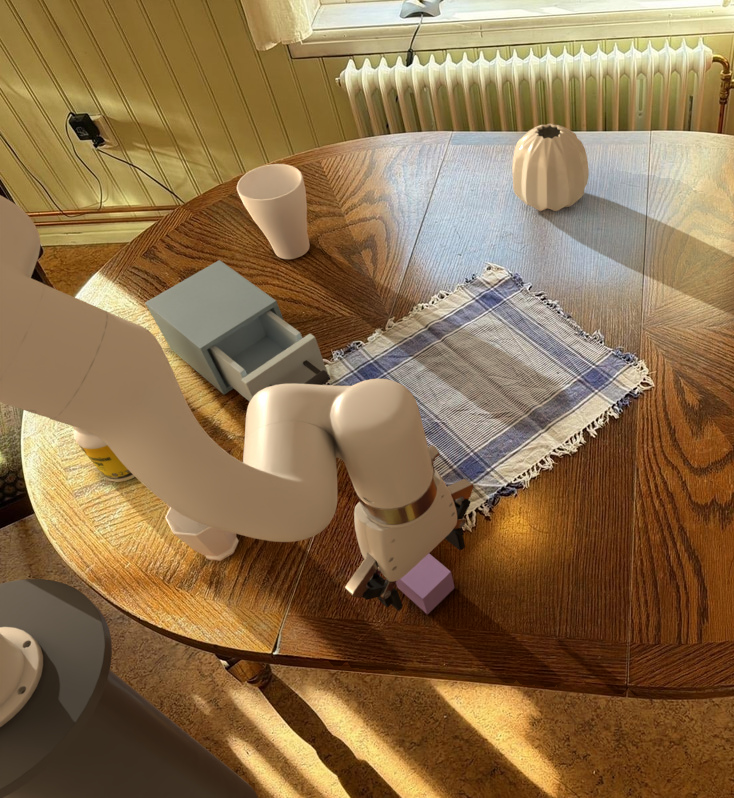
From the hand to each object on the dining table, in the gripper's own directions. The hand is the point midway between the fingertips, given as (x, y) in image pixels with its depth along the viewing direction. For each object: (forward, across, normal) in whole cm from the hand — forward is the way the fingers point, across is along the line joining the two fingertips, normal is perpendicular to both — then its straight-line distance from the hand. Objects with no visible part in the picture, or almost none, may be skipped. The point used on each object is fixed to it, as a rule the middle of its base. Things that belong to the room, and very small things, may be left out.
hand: (423, 570), depth 85 cm
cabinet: (+4, -8, -52) cm, 53 cm away
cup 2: (+4, -29, -65) cm, 71 cm away
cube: (+4, 0, 0) cm, 4 cm away
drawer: (+3, -8, -40) cm, 41 cm away
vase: (+5, -69, -40) cm, 80 cm away
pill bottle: (+4, +14, -44) cm, 47 cm away
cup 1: (+4, +13, -25) cm, 29 cm away
